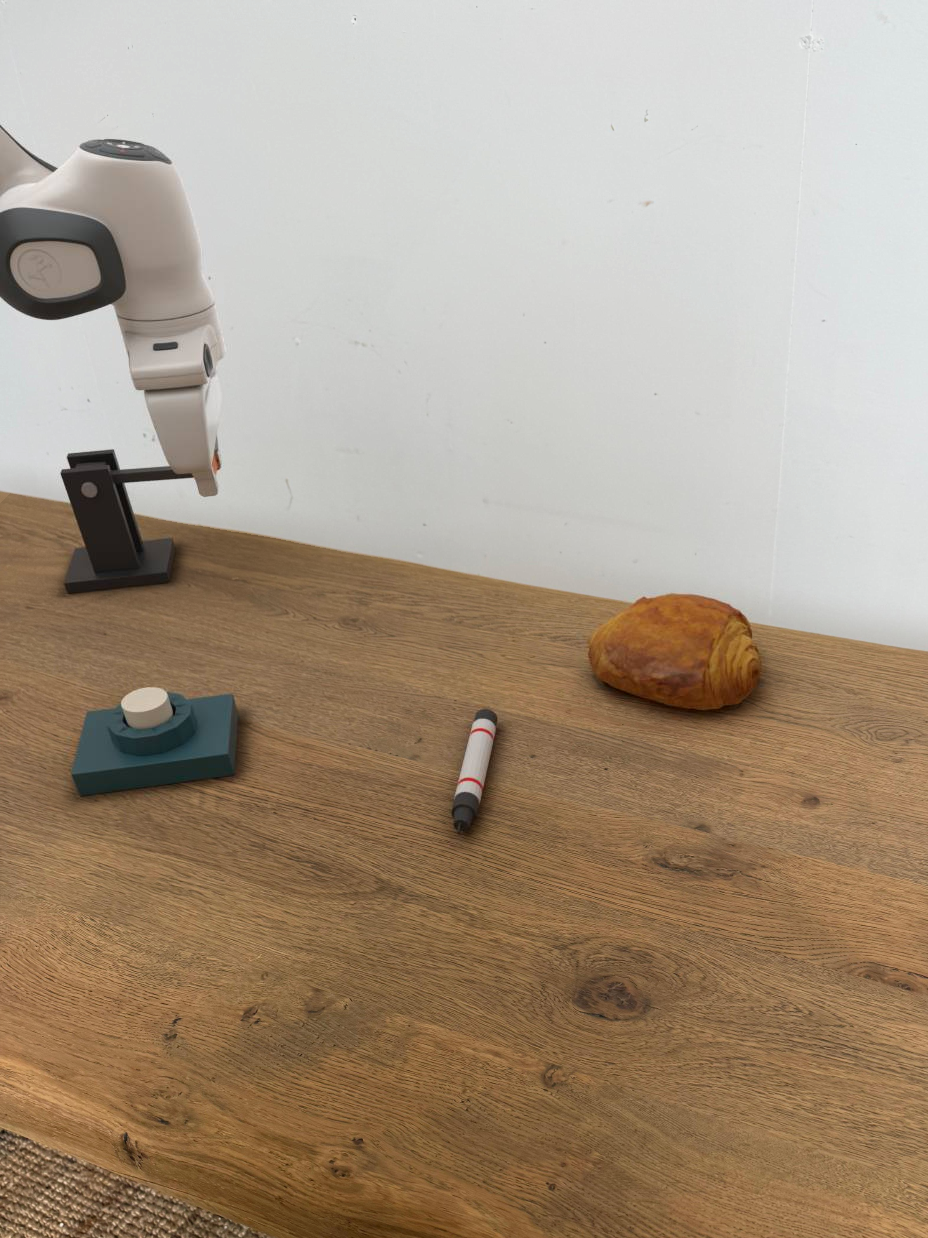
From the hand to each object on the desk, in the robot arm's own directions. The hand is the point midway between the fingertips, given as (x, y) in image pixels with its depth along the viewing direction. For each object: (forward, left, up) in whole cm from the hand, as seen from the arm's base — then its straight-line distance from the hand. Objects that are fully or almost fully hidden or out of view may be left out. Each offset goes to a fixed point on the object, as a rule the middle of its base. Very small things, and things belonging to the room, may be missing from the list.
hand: (211, 480), depth 119 cm
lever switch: (-6, 0, 0) cm, 6 cm away
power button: (-4, -35, -5) cm, 36 cm away
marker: (+21, -45, -9) cm, 50 cm away
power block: (-4, -35, -9) cm, 36 cm away
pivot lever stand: (-11, 0, -9) cm, 14 cm away
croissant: (+41, -33, -9) cm, 53 cm away
